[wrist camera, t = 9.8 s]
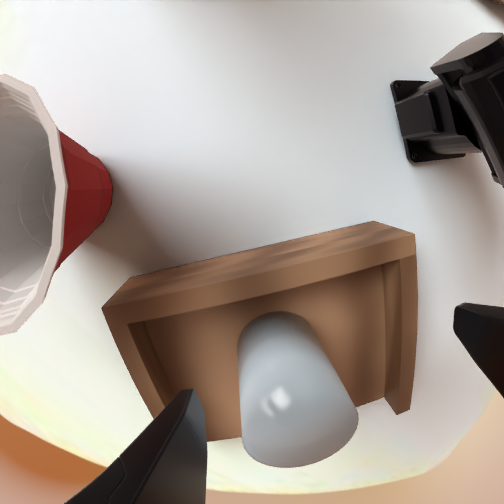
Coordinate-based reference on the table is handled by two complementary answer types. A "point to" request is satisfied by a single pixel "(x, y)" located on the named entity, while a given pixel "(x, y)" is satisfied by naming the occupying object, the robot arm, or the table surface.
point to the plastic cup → (40, 200)
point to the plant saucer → (500, 1)
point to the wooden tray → (269, 300)
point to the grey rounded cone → (290, 393)
